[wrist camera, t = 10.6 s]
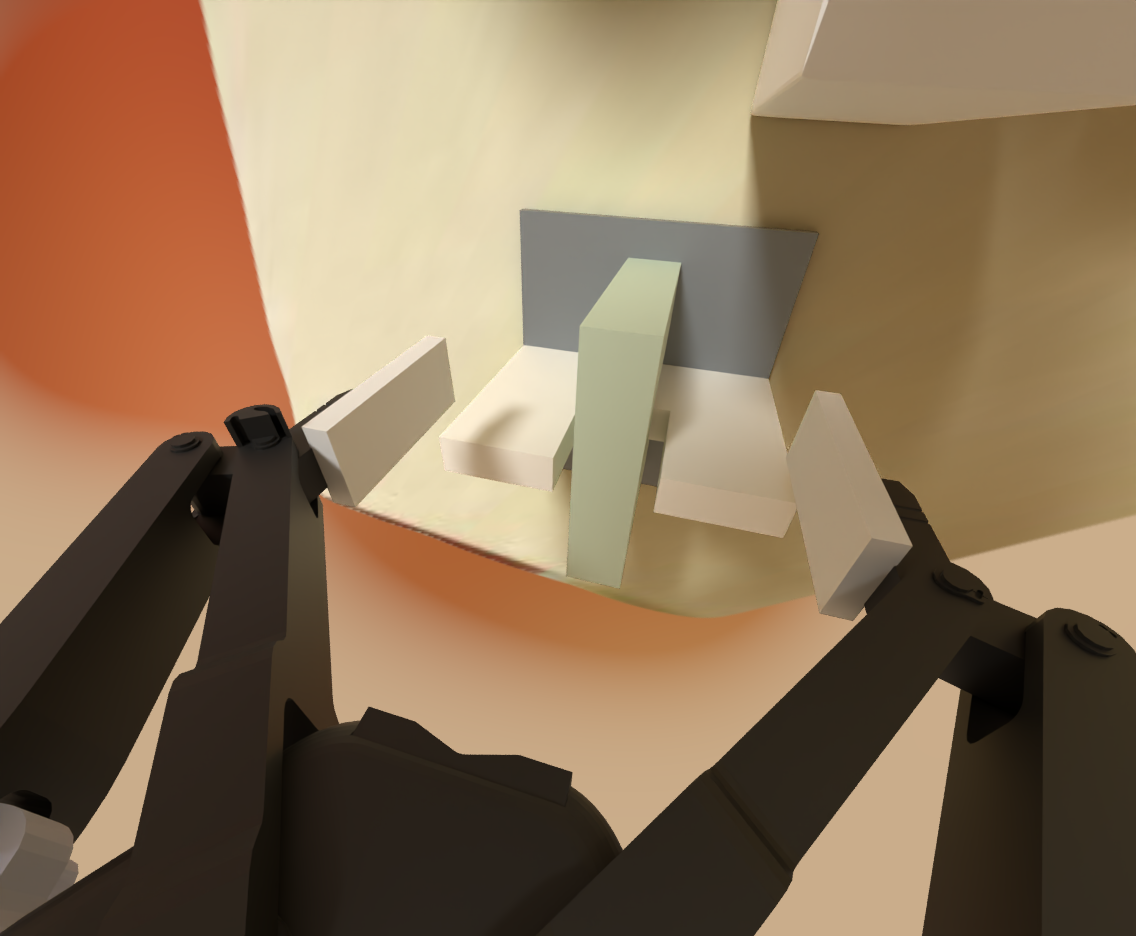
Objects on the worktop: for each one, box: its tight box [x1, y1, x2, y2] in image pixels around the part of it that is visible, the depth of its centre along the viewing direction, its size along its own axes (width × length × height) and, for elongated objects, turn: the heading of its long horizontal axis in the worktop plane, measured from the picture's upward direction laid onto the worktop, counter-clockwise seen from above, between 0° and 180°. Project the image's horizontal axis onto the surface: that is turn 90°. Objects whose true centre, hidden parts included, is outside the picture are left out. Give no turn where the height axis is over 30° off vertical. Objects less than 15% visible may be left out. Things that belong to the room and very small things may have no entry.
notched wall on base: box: [439, 209, 819, 538], centre depth 24 cm, size 16×18×13 cm
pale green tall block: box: [566, 258, 681, 589], centre depth 24 cm, size 14×3×12 cm, turn 178°
